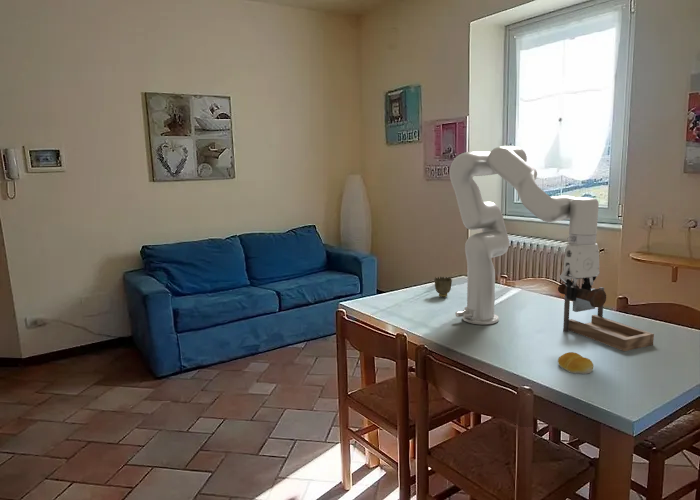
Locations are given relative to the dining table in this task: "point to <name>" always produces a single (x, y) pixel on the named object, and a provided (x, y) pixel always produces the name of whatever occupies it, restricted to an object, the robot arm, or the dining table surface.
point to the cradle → (608, 331)
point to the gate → (581, 305)
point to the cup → (443, 286)
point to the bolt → (587, 295)
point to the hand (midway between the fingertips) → (578, 297)
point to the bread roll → (575, 363)
